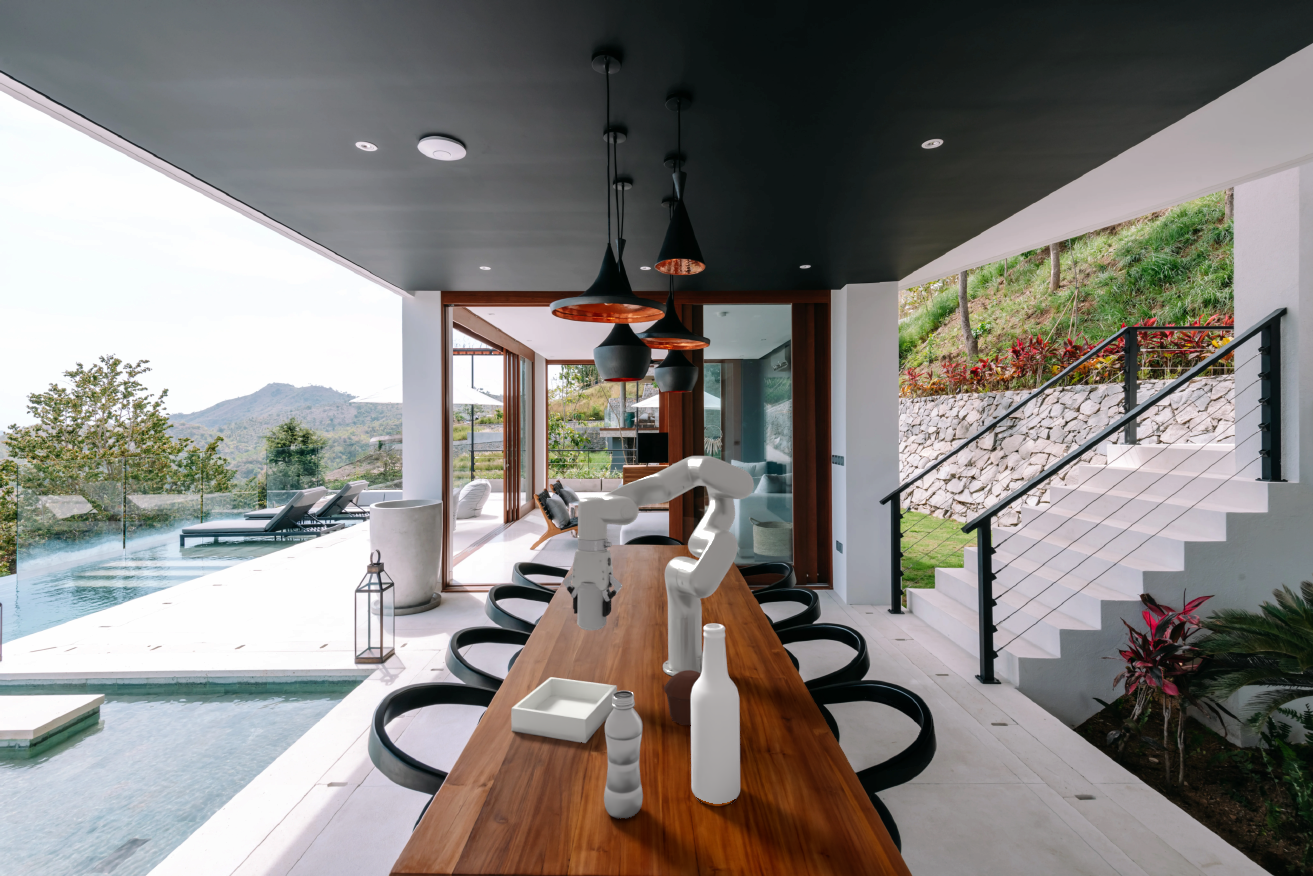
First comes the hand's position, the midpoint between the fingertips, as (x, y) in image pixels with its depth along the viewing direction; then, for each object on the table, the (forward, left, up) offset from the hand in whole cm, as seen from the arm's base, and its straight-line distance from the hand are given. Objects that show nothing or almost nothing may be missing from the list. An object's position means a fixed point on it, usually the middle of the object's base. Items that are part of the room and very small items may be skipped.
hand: (591, 613), depth 146 cm
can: (0, 0, -4) cm, 4 cm away
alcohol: (-39, +33, -20) cm, 55 cm away
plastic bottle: (-25, +43, -20) cm, 54 cm away
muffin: (-27, +6, -20) cm, 34 cm away
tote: (0, +15, -20) cm, 25 cm away
